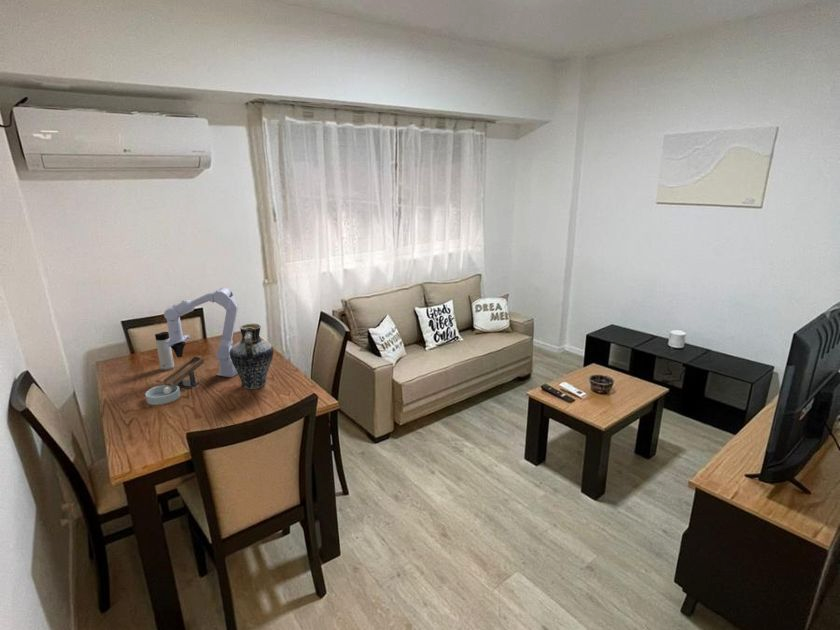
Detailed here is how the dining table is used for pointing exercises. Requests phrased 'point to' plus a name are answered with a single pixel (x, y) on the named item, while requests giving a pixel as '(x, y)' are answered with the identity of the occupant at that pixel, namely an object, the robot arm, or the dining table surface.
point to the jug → (251, 357)
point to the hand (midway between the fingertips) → (179, 356)
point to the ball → (167, 390)
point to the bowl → (162, 395)
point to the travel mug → (164, 351)
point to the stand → (188, 383)
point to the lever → (180, 372)
